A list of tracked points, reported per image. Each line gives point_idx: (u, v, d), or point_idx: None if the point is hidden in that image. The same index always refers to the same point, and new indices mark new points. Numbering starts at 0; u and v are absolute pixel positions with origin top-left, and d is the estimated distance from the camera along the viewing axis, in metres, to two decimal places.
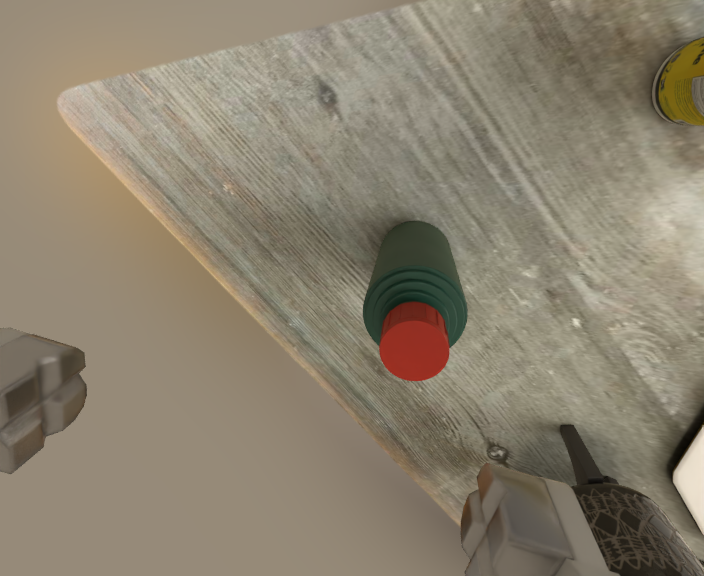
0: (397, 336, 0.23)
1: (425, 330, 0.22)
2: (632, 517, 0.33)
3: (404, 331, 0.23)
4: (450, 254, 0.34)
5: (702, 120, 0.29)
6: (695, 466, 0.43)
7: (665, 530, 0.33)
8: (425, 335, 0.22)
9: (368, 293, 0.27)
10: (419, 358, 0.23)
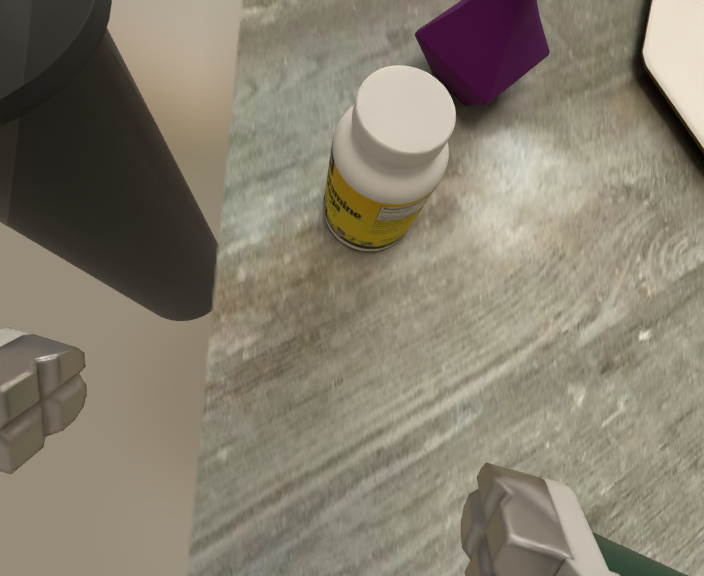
0: None
1: None
2: None
3: None
4: None
5: (422, 207, 0.24)
6: None
7: None
8: None
9: None
10: None
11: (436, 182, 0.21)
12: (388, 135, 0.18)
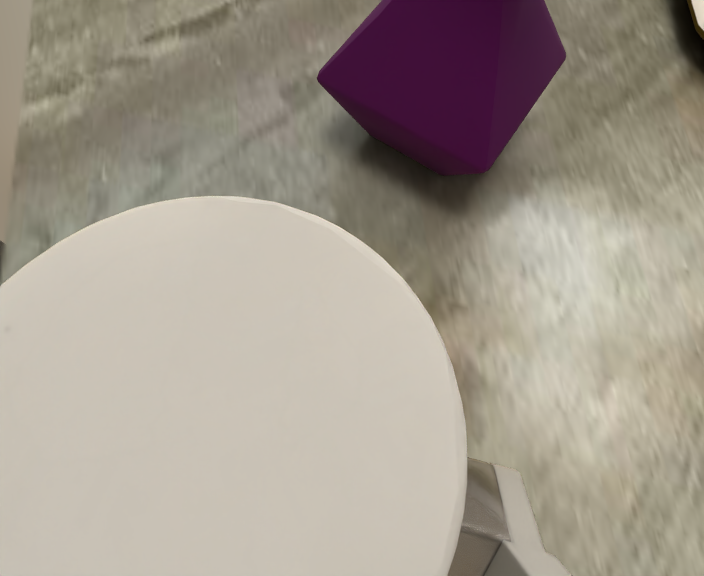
0: None
1: None
2: None
3: None
4: None
5: None
6: None
7: None
8: None
9: None
10: None
11: None
12: None
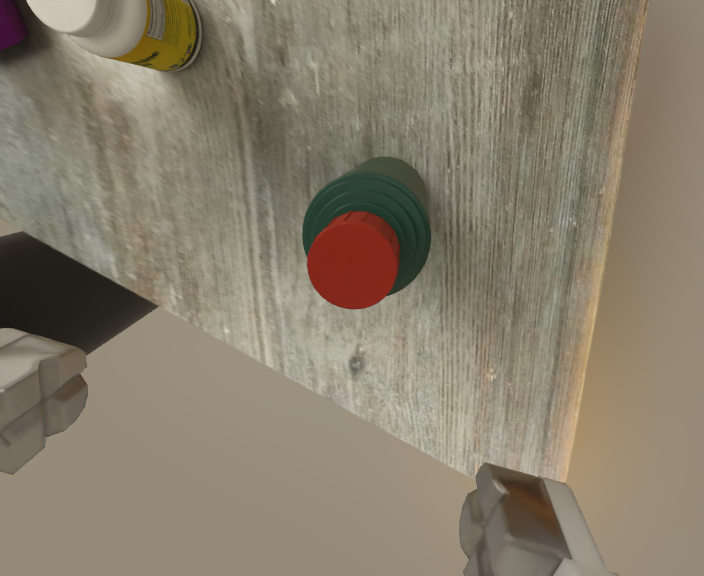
0: (355, 296, 0.18)
1: (322, 282, 0.18)
2: None
3: (344, 296, 0.18)
4: None
5: None
6: None
7: None
8: (325, 277, 0.18)
9: (392, 292, 0.23)
10: (351, 256, 0.17)
11: None
12: (79, 15, 0.23)
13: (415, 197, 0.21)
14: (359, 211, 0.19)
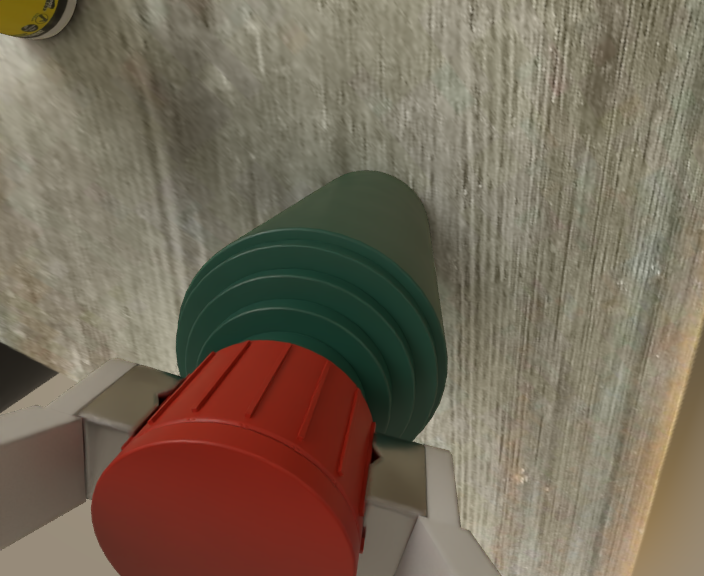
0: None
1: (143, 574, 0.06)
2: None
3: None
4: None
5: None
6: None
7: None
8: (151, 564, 0.06)
9: None
10: (213, 525, 0.06)
11: None
12: None
13: (413, 284, 0.09)
14: (269, 342, 0.07)
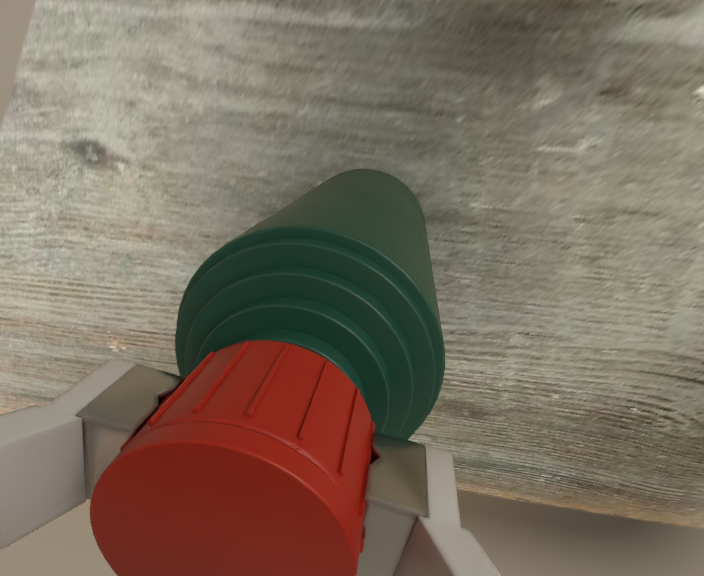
0: None
1: (142, 575, 0.06)
2: None
3: None
4: (362, 184, 0.16)
5: None
6: None
7: None
8: (150, 565, 0.06)
9: None
10: (213, 526, 0.06)
11: None
12: None
13: None
14: (268, 342, 0.07)
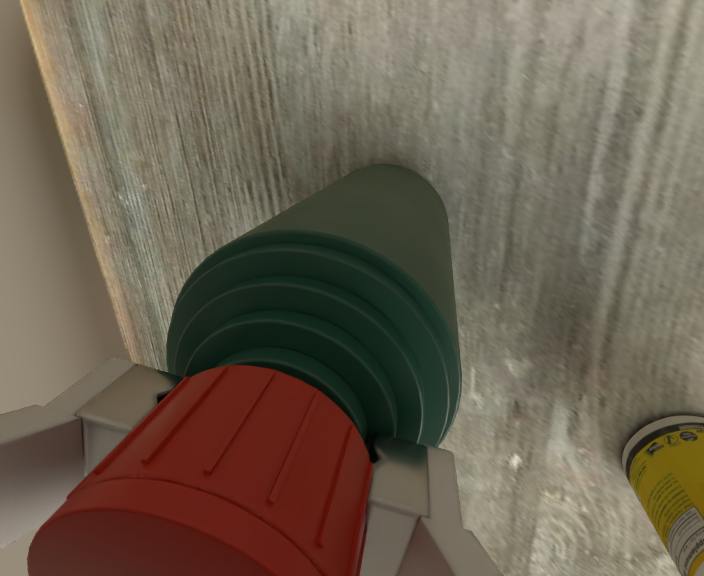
0: None
1: None
2: None
3: None
4: None
5: (661, 538, 0.21)
6: None
7: None
8: None
9: (226, 249, 0.09)
10: None
11: None
12: None
13: None
14: (249, 368, 0.06)
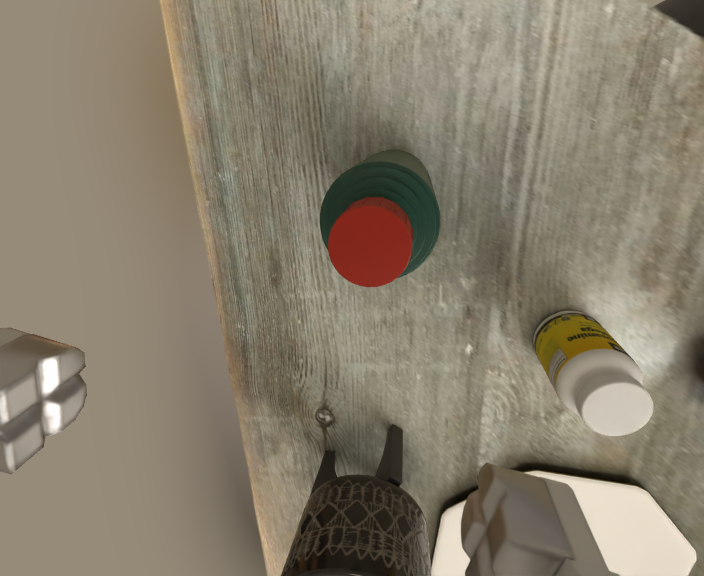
0: (372, 274, 0.19)
1: (341, 261, 0.19)
2: (406, 525, 0.35)
3: (361, 274, 0.19)
4: None
5: (547, 375, 0.35)
6: None
7: (423, 547, 0.35)
8: (345, 256, 0.19)
9: (351, 169, 0.23)
10: (369, 237, 0.19)
11: (559, 395, 0.32)
12: (607, 391, 0.28)
13: None
14: (375, 197, 0.20)
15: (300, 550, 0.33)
